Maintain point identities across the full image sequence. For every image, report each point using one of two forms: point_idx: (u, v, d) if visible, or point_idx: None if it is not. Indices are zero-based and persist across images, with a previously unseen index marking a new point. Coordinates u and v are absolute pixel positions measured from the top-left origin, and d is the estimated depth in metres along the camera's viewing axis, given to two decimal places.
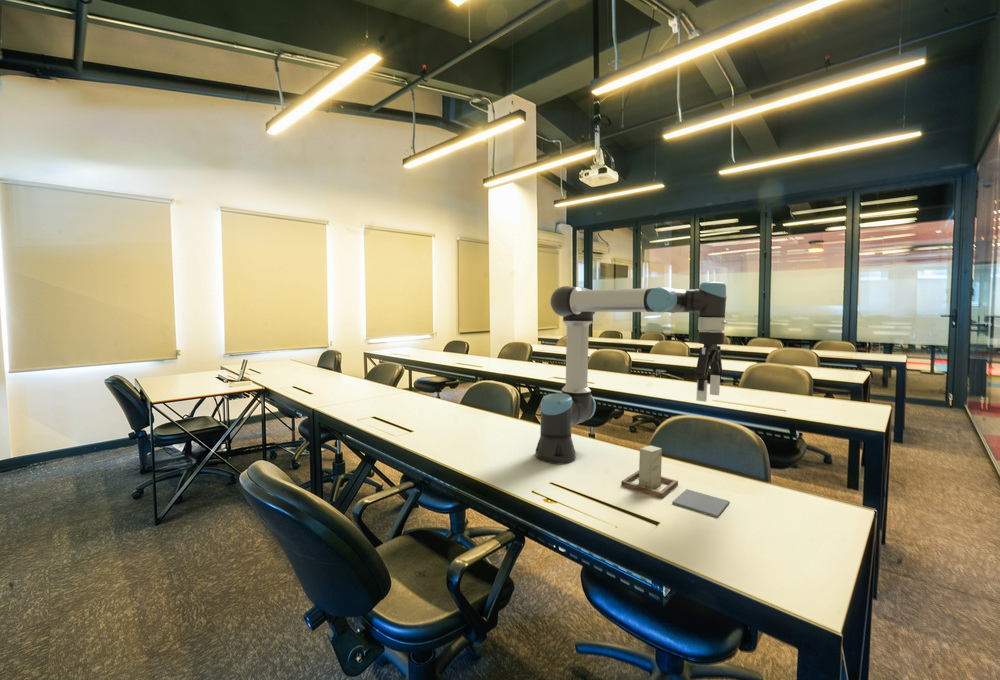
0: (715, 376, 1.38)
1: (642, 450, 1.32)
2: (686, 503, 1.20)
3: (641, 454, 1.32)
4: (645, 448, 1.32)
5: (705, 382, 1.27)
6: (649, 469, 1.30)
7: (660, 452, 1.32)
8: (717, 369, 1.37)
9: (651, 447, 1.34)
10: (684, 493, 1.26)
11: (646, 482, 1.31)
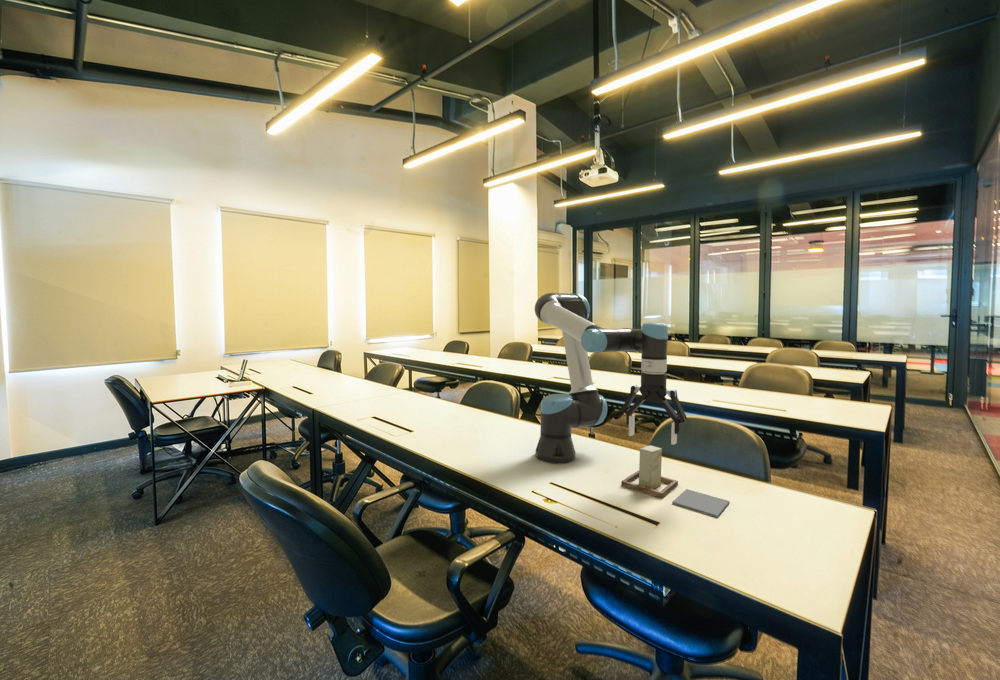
0: None
1: (642, 450, 1.32)
2: (686, 503, 1.20)
3: (641, 454, 1.32)
4: (645, 448, 1.32)
5: None
6: (649, 469, 1.30)
7: (660, 452, 1.32)
8: None
9: (651, 447, 1.33)
10: (684, 493, 1.26)
11: (646, 482, 1.31)
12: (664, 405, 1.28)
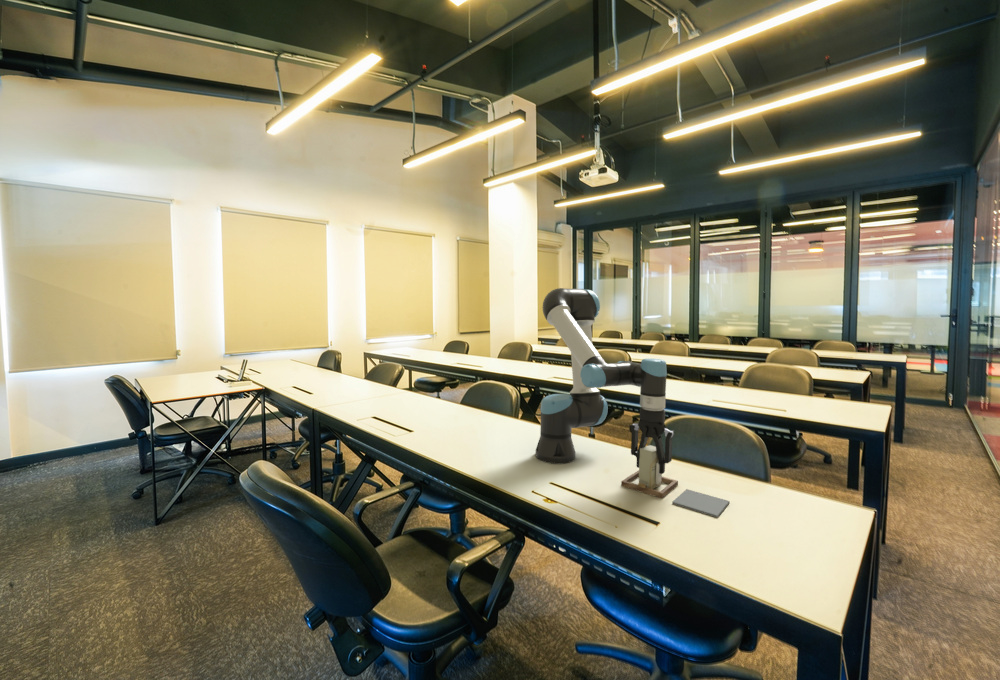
0: (657, 463, 1.31)
1: (642, 450, 1.31)
2: (686, 503, 1.20)
3: (641, 454, 1.32)
4: (645, 448, 1.32)
5: None
6: (649, 469, 1.30)
7: None
8: None
9: (651, 447, 1.33)
10: (684, 493, 1.26)
11: (646, 482, 1.30)
12: (657, 443, 1.30)
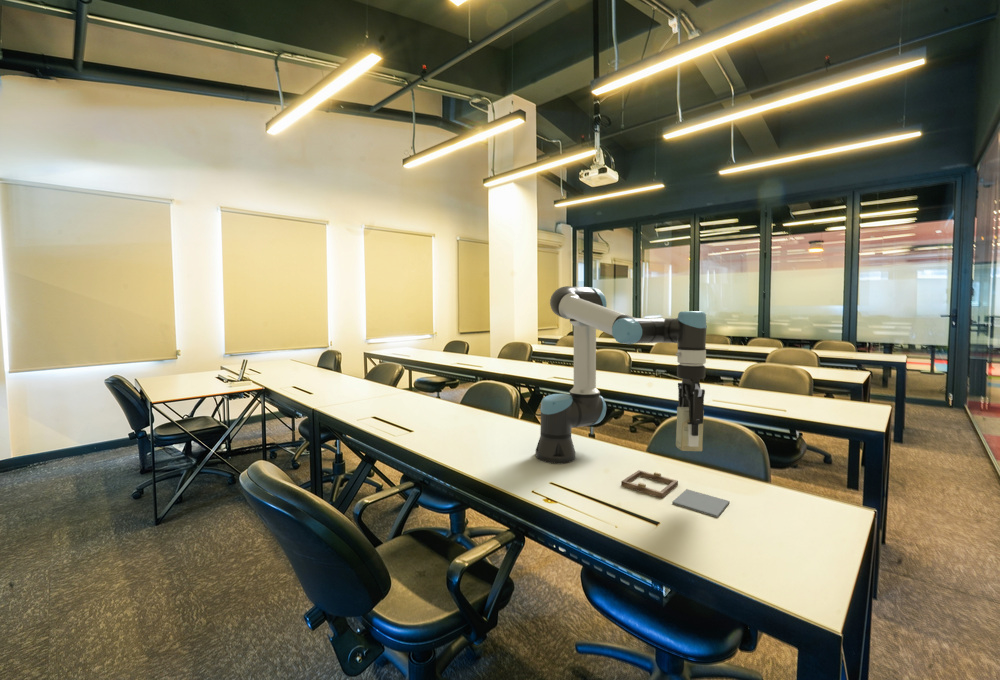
0: None
1: (678, 408, 1.23)
2: (686, 503, 1.20)
3: (677, 413, 1.24)
4: (683, 407, 1.23)
5: None
6: (681, 428, 1.21)
7: None
8: None
9: None
10: (684, 493, 1.26)
11: (679, 442, 1.22)
12: (689, 401, 1.20)
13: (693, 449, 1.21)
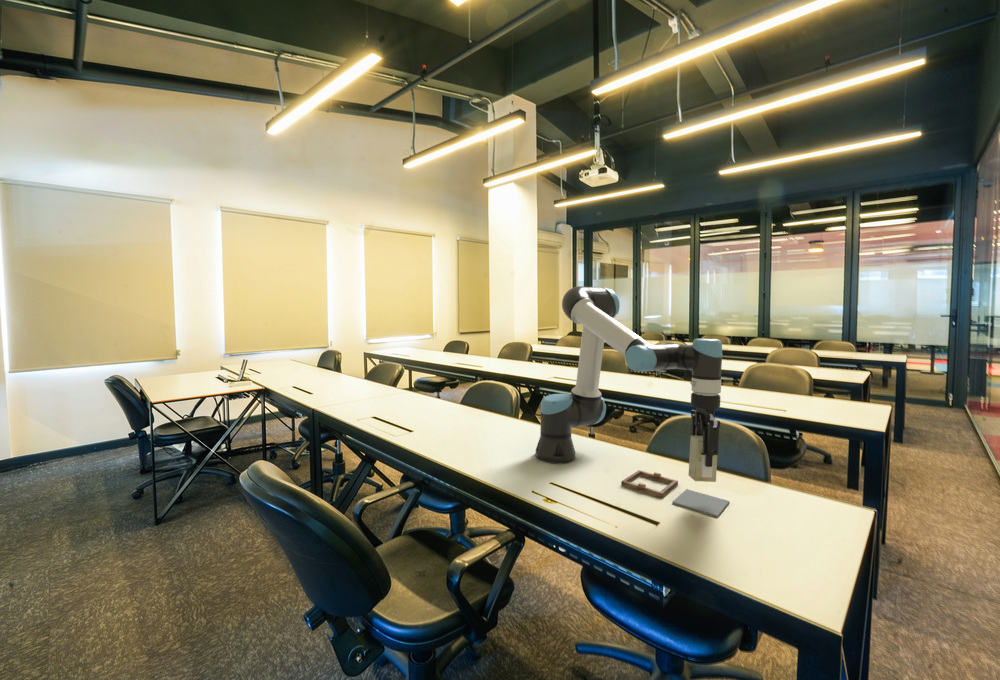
0: None
1: (692, 437, 1.21)
2: (686, 503, 1.20)
3: (691, 441, 1.21)
4: (697, 436, 1.21)
5: None
6: (695, 458, 1.18)
7: None
8: None
9: None
10: (684, 493, 1.26)
11: (692, 472, 1.20)
12: (703, 431, 1.17)
13: (707, 480, 1.18)
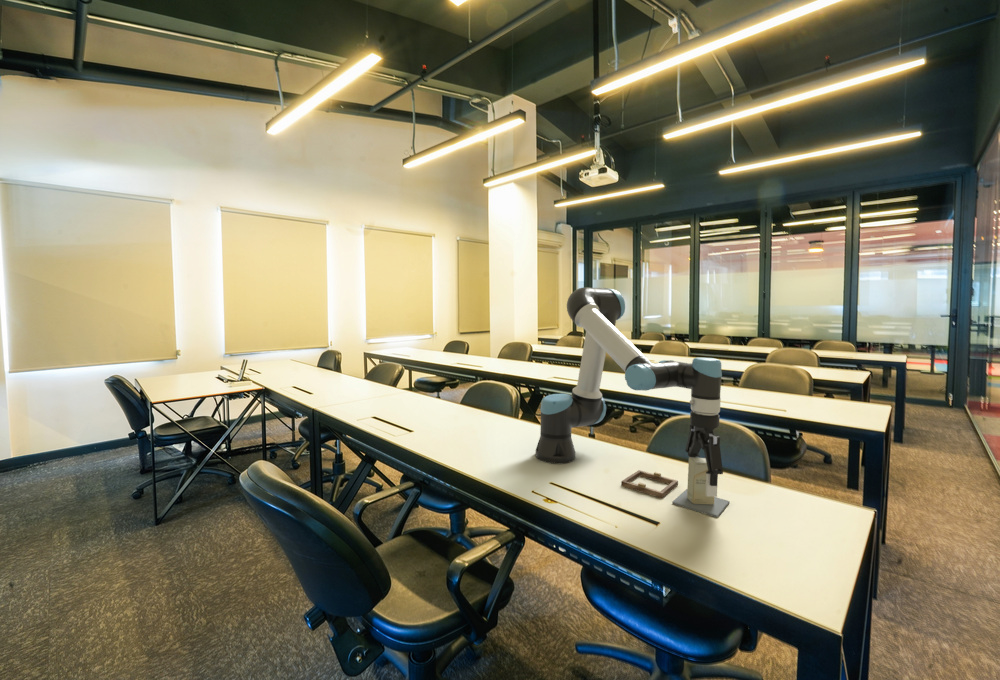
0: None
1: (690, 459, 1.22)
2: (686, 503, 1.20)
3: (689, 464, 1.22)
4: (695, 458, 1.22)
5: None
6: (693, 481, 1.19)
7: None
8: None
9: (705, 459, 1.21)
10: (684, 493, 1.26)
11: (691, 494, 1.20)
12: (704, 450, 1.16)
13: (705, 502, 1.19)
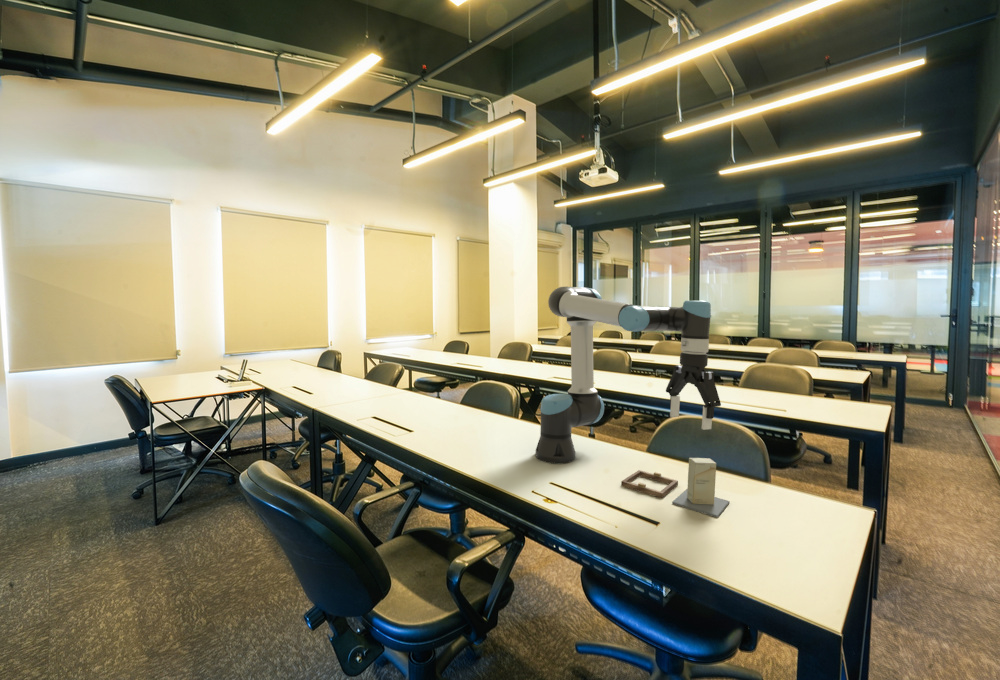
0: None
1: (690, 459, 1.22)
2: (686, 503, 1.20)
3: (689, 464, 1.22)
4: (695, 459, 1.21)
5: None
6: (693, 481, 1.19)
7: (713, 467, 1.18)
8: None
9: (705, 459, 1.21)
10: (684, 493, 1.26)
11: (691, 494, 1.20)
12: (698, 387, 1.21)
13: (705, 502, 1.19)
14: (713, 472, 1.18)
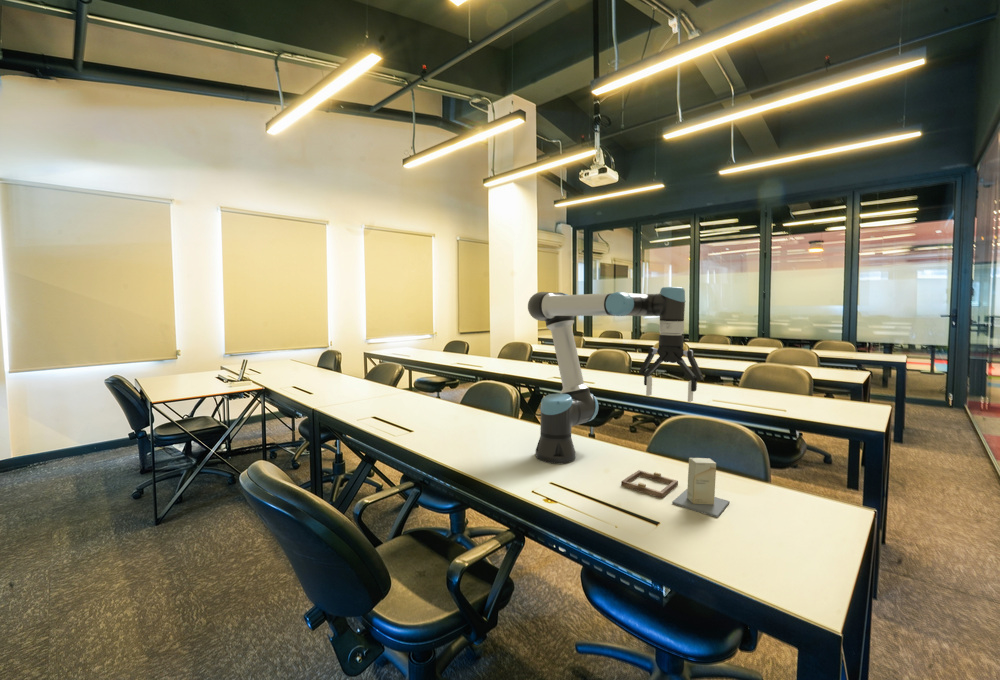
0: None
1: (690, 459, 1.22)
2: (686, 503, 1.20)
3: (689, 464, 1.22)
4: (695, 459, 1.21)
5: None
6: (693, 481, 1.19)
7: (713, 467, 1.18)
8: None
9: (705, 459, 1.21)
10: (684, 493, 1.26)
11: (691, 494, 1.20)
12: (681, 364, 1.35)
13: (705, 502, 1.19)
14: (713, 472, 1.18)
